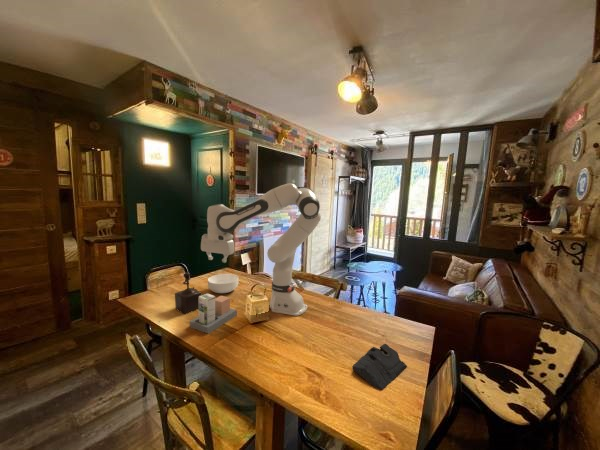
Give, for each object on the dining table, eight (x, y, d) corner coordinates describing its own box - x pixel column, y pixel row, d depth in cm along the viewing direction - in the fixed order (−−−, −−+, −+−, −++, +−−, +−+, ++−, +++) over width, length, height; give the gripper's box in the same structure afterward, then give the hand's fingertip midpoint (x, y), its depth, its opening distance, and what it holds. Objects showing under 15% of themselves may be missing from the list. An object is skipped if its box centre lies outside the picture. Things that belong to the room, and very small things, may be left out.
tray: (219, 310, 136) (219, 293, 135) (236, 315, 131) (236, 297, 130) (189, 327, 118) (189, 307, 117) (208, 333, 113) (207, 313, 112)
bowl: (244, 289, 167) (244, 277, 166) (221, 299, 150) (221, 286, 149) (225, 283, 177) (224, 271, 176) (201, 291, 161) (201, 279, 160)
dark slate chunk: (345, 369, 94) (345, 358, 93) (375, 347, 108) (376, 337, 108) (381, 394, 82) (382, 381, 82) (410, 365, 97) (411, 354, 97)
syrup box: (198, 324, 120) (197, 296, 118) (208, 319, 124) (208, 292, 123) (205, 328, 116) (205, 299, 115) (215, 323, 121) (215, 295, 120)
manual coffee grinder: (203, 307, 139) (202, 277, 137) (184, 314, 130) (183, 282, 128) (189, 299, 148) (188, 271, 146) (170, 305, 139) (169, 275, 137)
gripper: (197, 234, 129) (198, 259, 130) (227, 237, 120) (228, 265, 122) (206, 232, 134) (207, 257, 136) (236, 235, 126) (236, 261, 127)
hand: (217, 261), depth 129 cm, fingers open, 8 cm apart
